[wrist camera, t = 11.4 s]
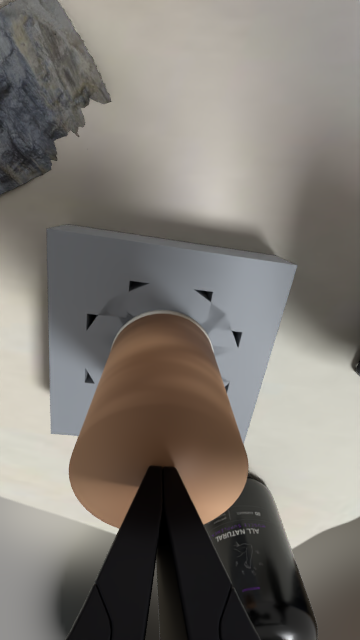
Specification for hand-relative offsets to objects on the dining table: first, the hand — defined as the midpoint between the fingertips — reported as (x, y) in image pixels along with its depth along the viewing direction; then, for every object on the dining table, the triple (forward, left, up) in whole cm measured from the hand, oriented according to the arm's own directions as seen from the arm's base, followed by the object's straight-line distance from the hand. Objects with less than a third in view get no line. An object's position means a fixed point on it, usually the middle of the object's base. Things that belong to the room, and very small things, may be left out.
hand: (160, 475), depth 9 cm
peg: (0, 0, -10) cm, 10 cm away
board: (0, 0, -10) cm, 10 cm away
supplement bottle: (-8, +15, -11) cm, 20 cm away
